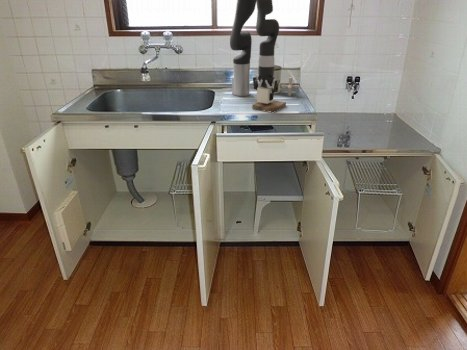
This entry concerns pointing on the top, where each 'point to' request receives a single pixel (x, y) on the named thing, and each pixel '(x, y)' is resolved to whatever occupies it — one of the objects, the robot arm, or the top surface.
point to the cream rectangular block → (263, 94)
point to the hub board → (269, 106)
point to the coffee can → (277, 76)
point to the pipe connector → (289, 86)
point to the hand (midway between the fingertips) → (265, 99)
